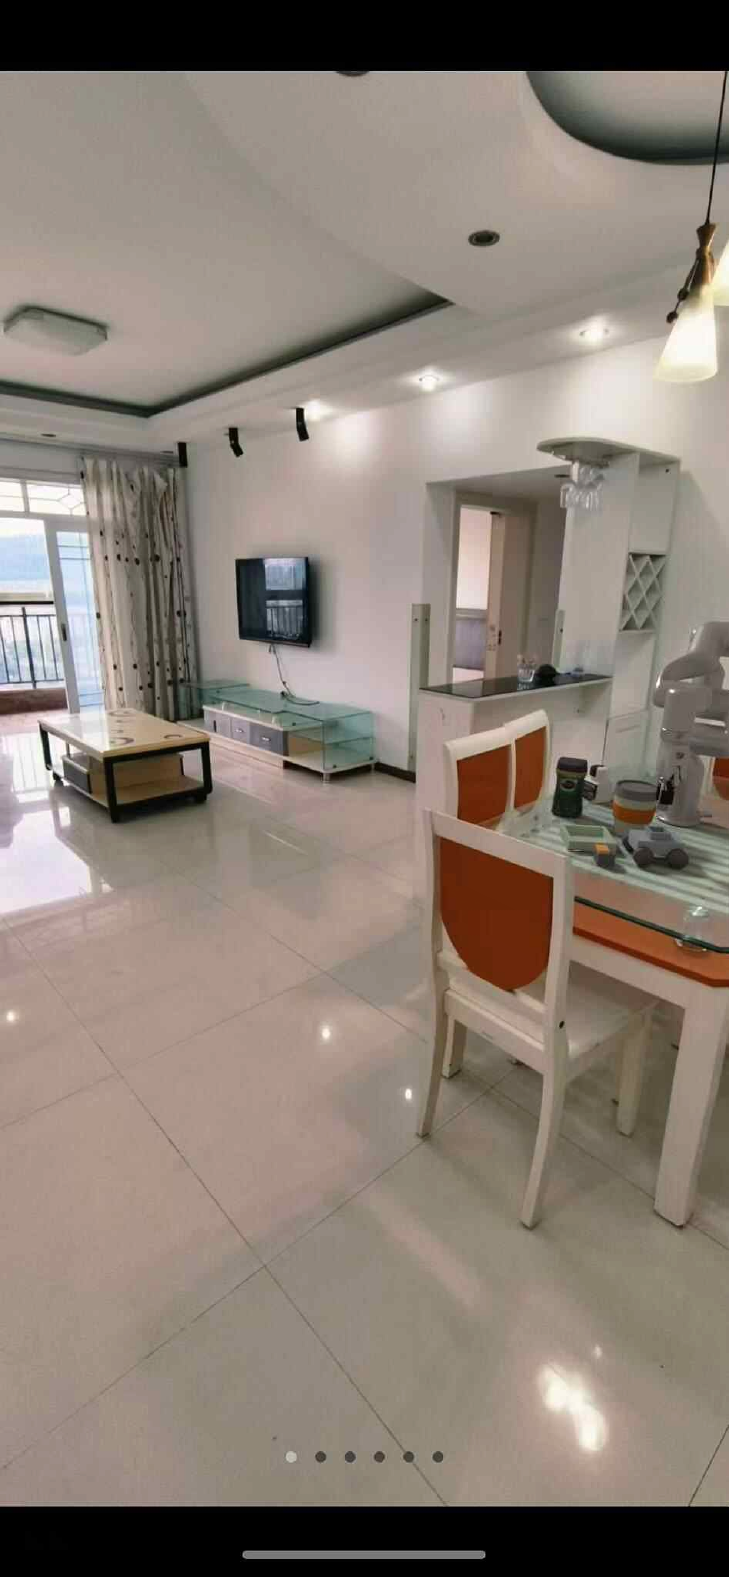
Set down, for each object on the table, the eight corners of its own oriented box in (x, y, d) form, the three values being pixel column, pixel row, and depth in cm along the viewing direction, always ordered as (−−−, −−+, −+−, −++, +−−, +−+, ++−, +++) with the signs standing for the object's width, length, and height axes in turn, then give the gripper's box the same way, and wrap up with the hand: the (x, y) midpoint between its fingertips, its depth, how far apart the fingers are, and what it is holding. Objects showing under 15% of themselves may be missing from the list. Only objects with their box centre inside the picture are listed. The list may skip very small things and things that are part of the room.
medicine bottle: (579, 797, 229) (584, 764, 225) (595, 795, 232) (600, 762, 228) (594, 804, 223) (599, 770, 219) (610, 801, 226) (615, 768, 222)
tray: (603, 835, 196) (605, 826, 195) (615, 853, 184) (617, 843, 183) (558, 833, 197) (560, 823, 196) (567, 850, 185) (569, 840, 184)
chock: (609, 860, 179) (612, 845, 178) (613, 866, 176) (616, 851, 174) (593, 859, 180) (595, 844, 178) (596, 865, 176) (599, 850, 175)
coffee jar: (583, 812, 214) (591, 757, 209) (579, 820, 208) (587, 763, 202) (552, 807, 218) (560, 753, 213) (548, 814, 212) (555, 758, 206)
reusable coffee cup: (624, 843, 191) (632, 794, 187) (599, 827, 203) (606, 780, 198) (661, 839, 195) (670, 791, 190) (634, 824, 206) (642, 778, 201)
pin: (666, 807, 179) (672, 775, 176) (671, 812, 176) (677, 780, 173) (653, 806, 180) (658, 775, 176) (657, 811, 176) (663, 779, 173)
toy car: (671, 850, 187) (676, 822, 184) (687, 869, 175) (693, 839, 173) (620, 847, 188) (624, 819, 185) (633, 866, 176) (638, 836, 174)
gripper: (702, 744, 163) (689, 814, 169) (679, 728, 178) (667, 792, 184) (671, 743, 163) (659, 812, 170) (650, 727, 179) (639, 791, 185)
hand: (663, 801), depth 177 cm, fingers closed on pin, 2 cm apart
